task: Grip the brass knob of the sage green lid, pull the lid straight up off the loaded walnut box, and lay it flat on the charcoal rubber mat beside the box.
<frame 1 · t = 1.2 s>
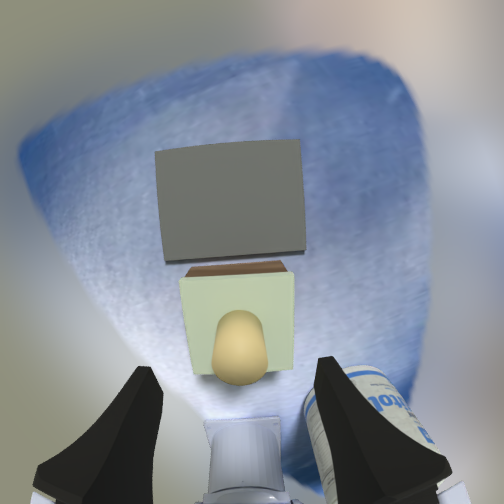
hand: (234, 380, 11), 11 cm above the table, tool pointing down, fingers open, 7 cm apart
supplement tub: (343, 395, 25), on the table
mat: (230, 198, 20), on the table
box: (239, 304, 22), on the table, touching lid
lid: (239, 320, 19), point 3 cm above the table, touching box
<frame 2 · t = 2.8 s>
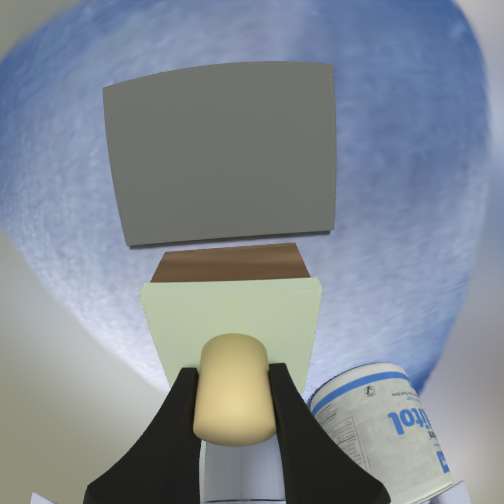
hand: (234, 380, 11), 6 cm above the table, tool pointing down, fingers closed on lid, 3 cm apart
supplement tub: (355, 389, 22), on the table
mat: (219, 151, 12), on the table
box: (234, 298, 16), on the table
lid: (234, 333, 13), point 3 cm above the table, touching gripper
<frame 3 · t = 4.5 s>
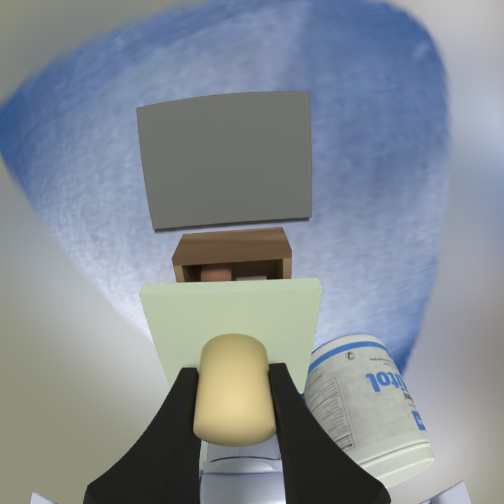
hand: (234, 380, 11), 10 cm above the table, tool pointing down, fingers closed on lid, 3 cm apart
supplement tub: (341, 361, 26), on the table
mat: (225, 158, 17), on the table
box: (236, 272, 21), on the table
lid: (234, 333, 13), point 8 cm above the table, touching gripper
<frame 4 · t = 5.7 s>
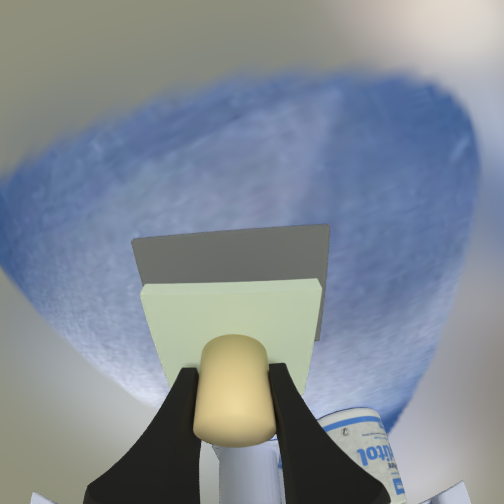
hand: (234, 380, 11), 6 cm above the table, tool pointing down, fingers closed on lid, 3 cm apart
supplement tub: (338, 423, 26), on the table
mat: (235, 295, 17), on the table
lid: (234, 334, 13), point 4 cm above the table, touching gripper
when the fingers open (4 cm above the table, at t = 6.5 s): lid stays where it is, resting on mat.
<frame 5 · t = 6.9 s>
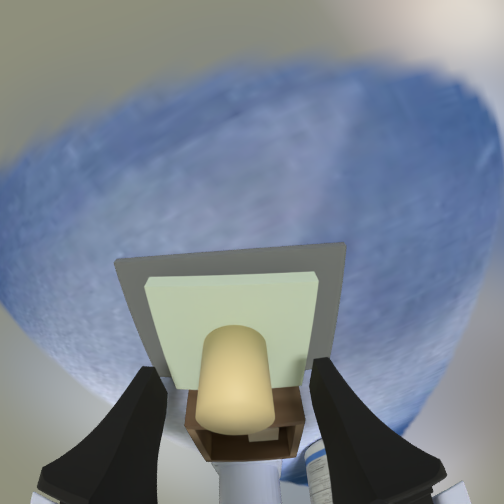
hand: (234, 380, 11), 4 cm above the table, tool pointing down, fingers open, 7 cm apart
supplement tub: (343, 440, 24), on the table
mat: (234, 322, 14), on the table
box: (246, 401, 18), on the table
lid: (234, 326, 14), resting on mat
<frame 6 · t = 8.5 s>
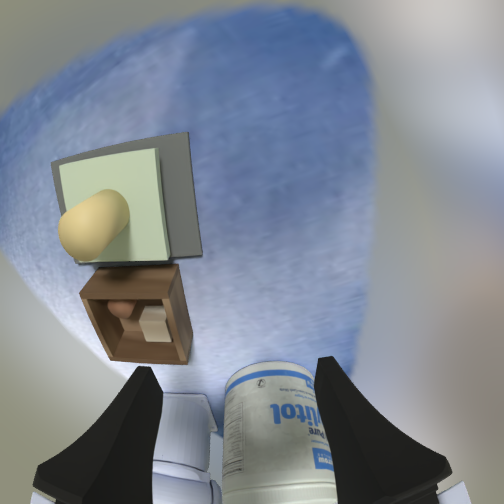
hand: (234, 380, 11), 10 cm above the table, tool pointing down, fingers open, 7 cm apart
supplement tub: (268, 383, 27), on the table
mat: (120, 203, 17), on the table
box: (146, 300, 22), on the table
lid: (118, 204, 17), resting on mat
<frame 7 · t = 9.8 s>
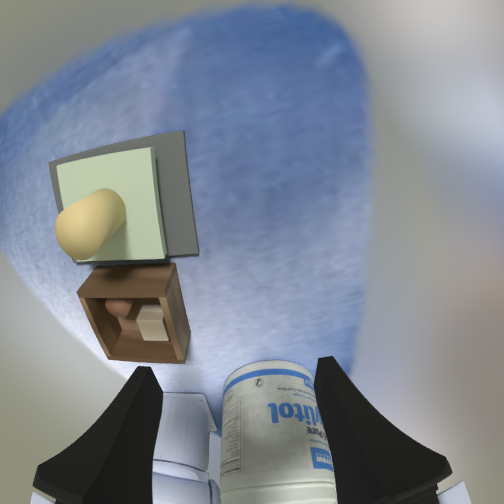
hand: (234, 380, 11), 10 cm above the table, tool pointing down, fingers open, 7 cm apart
supplement tub: (267, 382, 27), on the table
mat: (117, 203, 17), on the table
box: (144, 299, 22), on the table
lid: (115, 203, 17), resting on mat
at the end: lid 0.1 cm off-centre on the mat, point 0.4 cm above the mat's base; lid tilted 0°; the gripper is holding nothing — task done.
